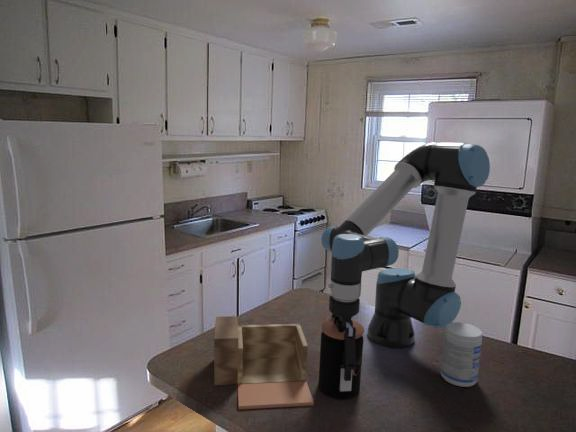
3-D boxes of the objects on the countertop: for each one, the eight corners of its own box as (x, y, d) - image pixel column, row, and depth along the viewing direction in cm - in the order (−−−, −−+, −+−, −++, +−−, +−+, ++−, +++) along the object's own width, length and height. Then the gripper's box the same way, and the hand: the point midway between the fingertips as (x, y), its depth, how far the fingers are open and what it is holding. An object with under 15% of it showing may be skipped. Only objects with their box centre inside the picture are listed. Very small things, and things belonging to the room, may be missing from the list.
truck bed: (298, 358, 126) (300, 314, 123) (305, 384, 113) (308, 335, 110) (215, 362, 122) (215, 316, 119) (213, 389, 110) (213, 338, 107)
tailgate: (306, 381, 112) (313, 402, 103) (306, 384, 112) (313, 405, 103) (237, 384, 110) (238, 406, 100) (237, 388, 110) (238, 410, 100)
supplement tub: (478, 391, 113) (485, 340, 110) (440, 384, 115) (446, 334, 112) (474, 372, 122) (480, 324, 119) (439, 366, 124) (444, 319, 122)
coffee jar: (358, 406, 104) (363, 339, 101) (315, 400, 106) (318, 333, 103) (360, 382, 115) (364, 320, 111) (320, 376, 117) (324, 315, 113)
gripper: (320, 280, 116) (316, 354, 121) (342, 316, 94) (336, 406, 98) (346, 280, 117) (341, 353, 122) (374, 316, 95) (367, 404, 99)
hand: (339, 377), depth 110 cm, fingers closed on coffee jar, 11 cm apart
